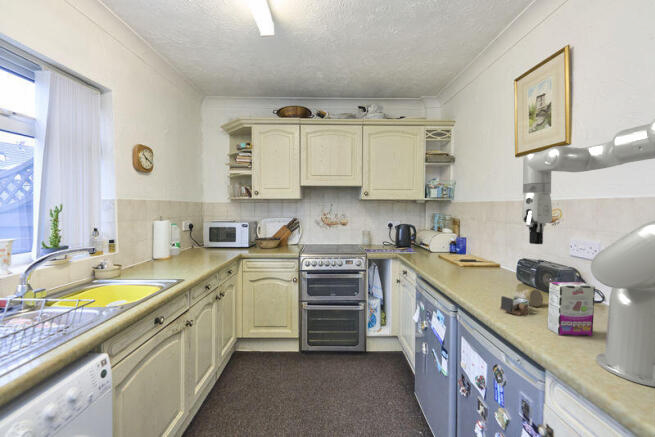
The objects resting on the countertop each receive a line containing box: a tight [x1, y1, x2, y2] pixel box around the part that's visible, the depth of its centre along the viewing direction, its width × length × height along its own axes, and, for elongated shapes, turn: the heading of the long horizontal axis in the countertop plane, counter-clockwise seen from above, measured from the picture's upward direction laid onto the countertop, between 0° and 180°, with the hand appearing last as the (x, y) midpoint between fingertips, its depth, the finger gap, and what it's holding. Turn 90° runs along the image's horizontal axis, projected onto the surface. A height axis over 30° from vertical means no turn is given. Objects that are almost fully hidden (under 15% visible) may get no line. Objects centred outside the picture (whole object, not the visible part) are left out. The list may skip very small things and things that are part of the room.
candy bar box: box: [547, 281, 596, 337], centre depth 87 cm, size 11×5×16 cm, turn 90°
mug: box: [512, 288, 544, 308], centre depth 113 cm, size 8×10×10 cm
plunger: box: [500, 295, 530, 313], centre depth 104 cm, size 11×5×5 cm, turn 117°
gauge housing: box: [499, 303, 529, 317], centre depth 104 cm, size 6×7×4 cm
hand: (536, 243), depth 89 cm, fingers closed
